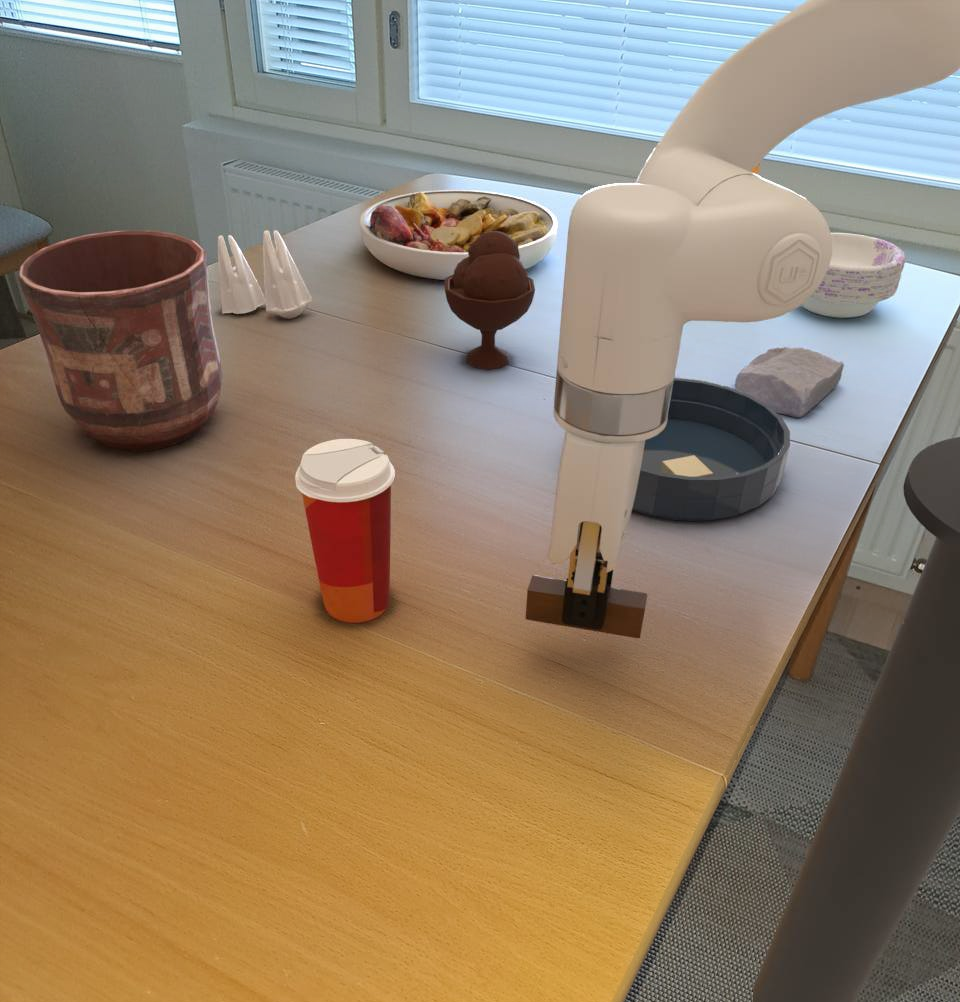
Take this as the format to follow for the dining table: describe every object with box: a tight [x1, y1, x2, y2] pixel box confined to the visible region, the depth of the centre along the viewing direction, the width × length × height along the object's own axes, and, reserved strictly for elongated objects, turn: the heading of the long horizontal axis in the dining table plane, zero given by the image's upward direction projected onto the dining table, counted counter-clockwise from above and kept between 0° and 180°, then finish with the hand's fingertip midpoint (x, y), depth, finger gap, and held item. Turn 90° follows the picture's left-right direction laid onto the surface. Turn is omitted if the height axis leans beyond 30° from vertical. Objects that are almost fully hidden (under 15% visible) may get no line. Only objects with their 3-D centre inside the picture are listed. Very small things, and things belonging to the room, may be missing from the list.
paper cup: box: [294, 438, 396, 624], centre depth 77 cm, size 8×8×14 cm
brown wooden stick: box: [525, 574, 648, 639], centre depth 73 cm, size 9×2×3 cm, turn 77°
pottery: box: [17, 230, 223, 452], centre depth 98 cm, size 18×18×18 cm
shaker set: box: [217, 229, 313, 319], centre depth 124 cm, size 12×4×11 cm, turn 75°
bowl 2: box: [632, 377, 791, 522], centre depth 98 cm, size 21×21×5 cm
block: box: [661, 455, 713, 477], centre depth 92 cm, size 4×4×4 cm
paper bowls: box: [800, 232, 907, 319], centre depth 130 cm, size 15×15×8 cm
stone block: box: [734, 346, 845, 419], centre depth 112 cm, size 12×5×10 cm
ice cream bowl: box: [444, 231, 536, 371], centre depth 113 cm, size 11×11×15 cm
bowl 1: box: [359, 189, 559, 281], centre depth 144 cm, size 30×30×8 cm
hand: (585, 612), depth 73 cm, fingers closed on brown wooden stick, 2 cm apart
